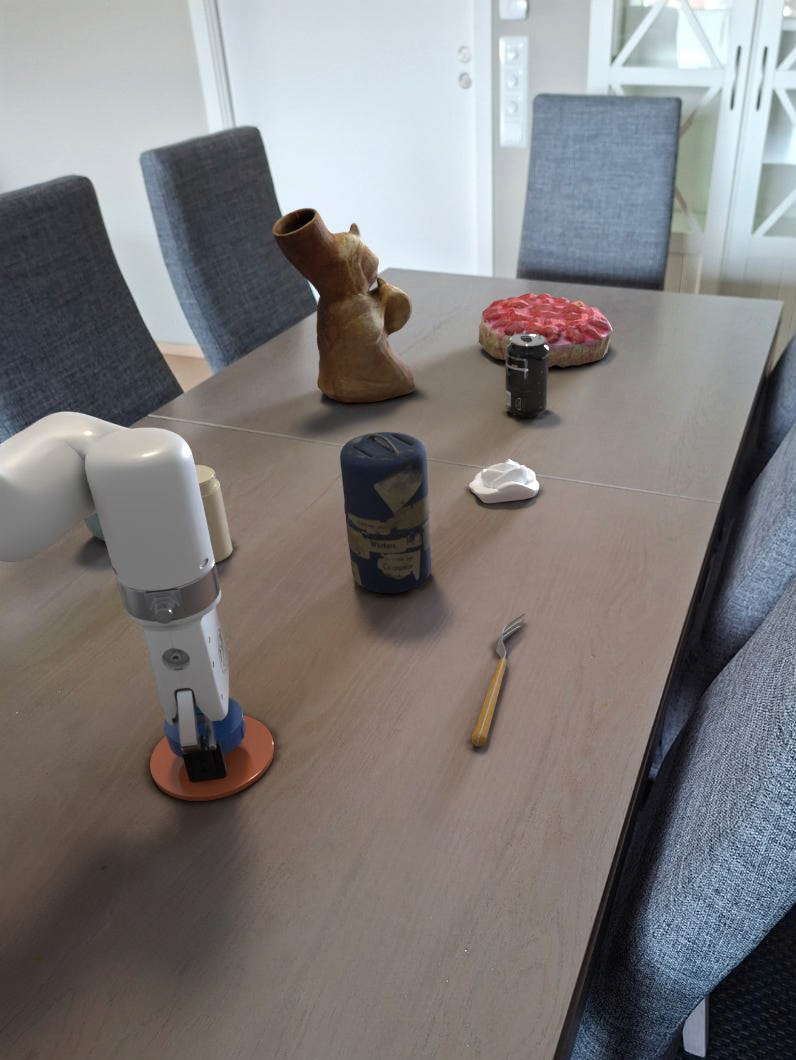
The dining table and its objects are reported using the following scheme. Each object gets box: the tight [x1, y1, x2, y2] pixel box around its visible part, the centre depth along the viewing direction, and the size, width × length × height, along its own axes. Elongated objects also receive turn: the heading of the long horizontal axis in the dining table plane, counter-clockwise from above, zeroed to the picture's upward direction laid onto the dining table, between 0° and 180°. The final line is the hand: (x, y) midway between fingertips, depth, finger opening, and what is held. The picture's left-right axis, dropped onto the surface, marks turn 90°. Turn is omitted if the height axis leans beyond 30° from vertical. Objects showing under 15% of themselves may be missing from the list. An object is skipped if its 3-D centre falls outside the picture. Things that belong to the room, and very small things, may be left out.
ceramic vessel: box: [271, 207, 416, 403], centre depth 146 cm, size 16×22×30 cm
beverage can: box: [504, 333, 549, 418], centre depth 145 cm, size 7×7×12 cm
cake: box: [478, 292, 614, 368], centre depth 171 cm, size 25×25×8 cm
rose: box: [468, 458, 540, 504], centre depth 124 cm, size 10×4×10 cm
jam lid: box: [163, 697, 246, 758], centre depth 81 cm, size 7×7×2 cm
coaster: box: [149, 714, 275, 802], centre depth 82 cm, size 11×11×1 cm
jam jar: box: [195, 464, 233, 564], centre depth 109 cm, size 6×6×11 cm
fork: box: [471, 613, 526, 747], centre depth 91 cm, size 2×2×20 cm
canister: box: [339, 431, 432, 594], centre depth 102 cm, size 10×10×18 cm
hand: (210, 748), depth 82 cm, fingers closed on jam lid, 6 cm apart
